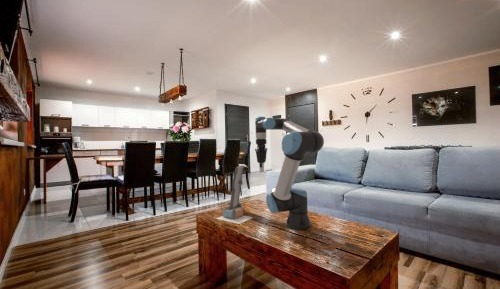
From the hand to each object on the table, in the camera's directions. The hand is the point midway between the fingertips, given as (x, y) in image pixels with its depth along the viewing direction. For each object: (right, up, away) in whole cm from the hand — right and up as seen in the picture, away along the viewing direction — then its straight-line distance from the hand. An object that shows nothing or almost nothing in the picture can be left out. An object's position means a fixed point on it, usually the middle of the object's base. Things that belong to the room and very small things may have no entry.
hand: (261, 171), depth 167 cm
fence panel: (-16, -32, +2) cm, 36 cm away
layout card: (-19, -33, 0) cm, 38 cm away
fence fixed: (-23, -33, 0) cm, 40 cm away
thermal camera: (-20, -33, +19) cm, 43 cm away
